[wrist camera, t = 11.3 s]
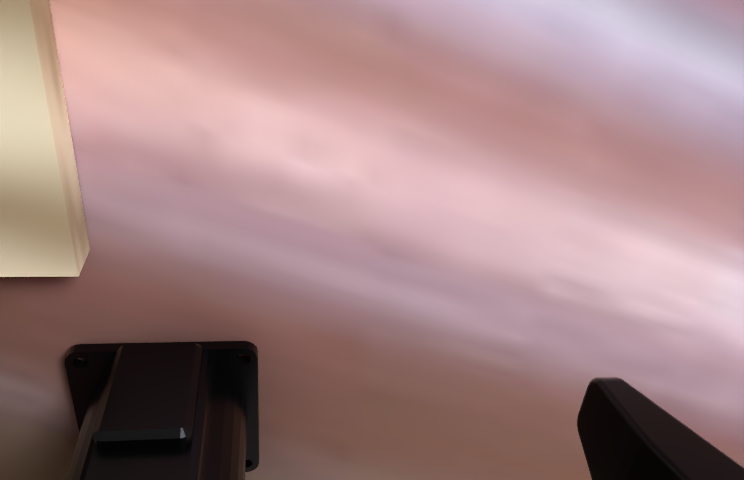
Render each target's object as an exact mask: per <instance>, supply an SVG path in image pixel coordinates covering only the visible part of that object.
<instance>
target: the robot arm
mask: <svg viewBox="0 0 744 480" xmlns="http://www.w3.org/2000/svg"><path fill="white" fill-rule="evenodd" d="M240 354H247V355H249V356H247V357H240V356H239V355H240ZM79 357H80V358H84V359H86V361H82V360H79V359H77V358H79ZM65 366H66V371H67V376H68V380H69V385H70V390H71V395H72V399H73V404H74V409H75V414H76V418H77V423H78V428H79V436H78V439H77V443H76V446H75V449H74V452H73V455H72V459H71V462H70V465H69V468H68V471H67V475H66V478H65V480H245V472H249V471H252V470H254V469H256V468H257V467H258V464H259V414H258V350H257V347H256V346H255V345H254V344H253V343H250V342H247V341H221V342H170V343H120V344H80V345H75V346H73V347H71V348H70V350H69V351H68V353H67V356H66V358H65ZM577 427H578V432H579V436H580V440H581V443H582V447H583V450H584V453H585V457H586V460H587V464H588V467H589V471H590V474H591V478H592V480H744V468H743V467H742V466H741V465H739V464H738V463H736V462H735V461H734V460H732V459H731V458H730V457H728V456H727V455H725V454H724V453H723V452H721V451H720V450H719V449H717V448H716V447H714V446H713V445H712V444H710V443H709V442H708V441H706V440H705V439H703V438H702V437H701V436H699V435H698V434H697V433H695V432H694V431H692V430H691V429H690V428H688V427H687V426H686V425H684V424H683V423H682V422H680V421H679V420H677V419H676V418H675V417H673V416H672V415H671V414H669V413H668V412H666V411H665V410H664V409H662V408H661V407H660V406H658V405H657V404H655V403H654V402H653V401H651V400H650V399H649V398H647V397H646V396H644V395H643V394H642V393H640V392H639V391H638V390H636V389H635V388H633V387H632V386H631V385H629V384H628V383H627V382H625V381H624V380H622V379H620V378H617V377H604V378H594V379H592V380H591V381H590V383H589V385H588V387H587V390H586V393H585V396H584V399H583V402H582V405H581V408H580V411H579V414H578V419H577ZM246 459H248V460H246Z"/></svg>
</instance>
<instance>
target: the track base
mask: <svg viewBox="0 0 744 480" xmlns="http://www.w3.org/2000/svg"><path fill="white" fill-rule="evenodd" d="M89 251H90V246H89V240H88V234H87V228H86V222H85V216H84V210H83V204H82V198H81V192H80V186H79V180H78V174H77V168H76V162H75V156H74V149H73V143H72V137H71V131H70V125H69V119H68V113H67V107H66V101H65V95H64V89H63V83H62V77H61V71H60V65H59V59H58V53H57V47H56V41H55V35H54V29H53V23H52V17H51V11H50V5H49V0H0V277H75V276H79V274H80V272H81V270H82V267H83V265H84V263H85V260H86V258H87V256H88V253H89Z"/></svg>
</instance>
